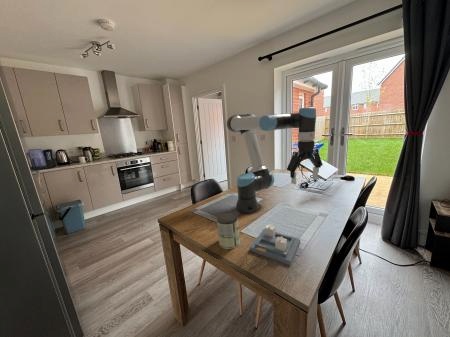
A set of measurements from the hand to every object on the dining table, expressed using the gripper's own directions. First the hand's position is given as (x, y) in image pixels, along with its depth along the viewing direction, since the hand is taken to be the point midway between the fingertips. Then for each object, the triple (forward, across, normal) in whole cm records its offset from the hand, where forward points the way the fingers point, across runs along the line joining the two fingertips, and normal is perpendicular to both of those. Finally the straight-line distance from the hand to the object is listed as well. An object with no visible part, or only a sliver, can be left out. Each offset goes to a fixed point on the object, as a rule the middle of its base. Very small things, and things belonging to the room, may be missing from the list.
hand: (304, 181), depth 95 cm
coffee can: (+25, -43, +1) cm, 50 cm away
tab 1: (+22, -24, -6) cm, 33 cm away
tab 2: (+22, -25, -16) cm, 37 cm away
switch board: (+24, -25, -11) cm, 36 cm away
